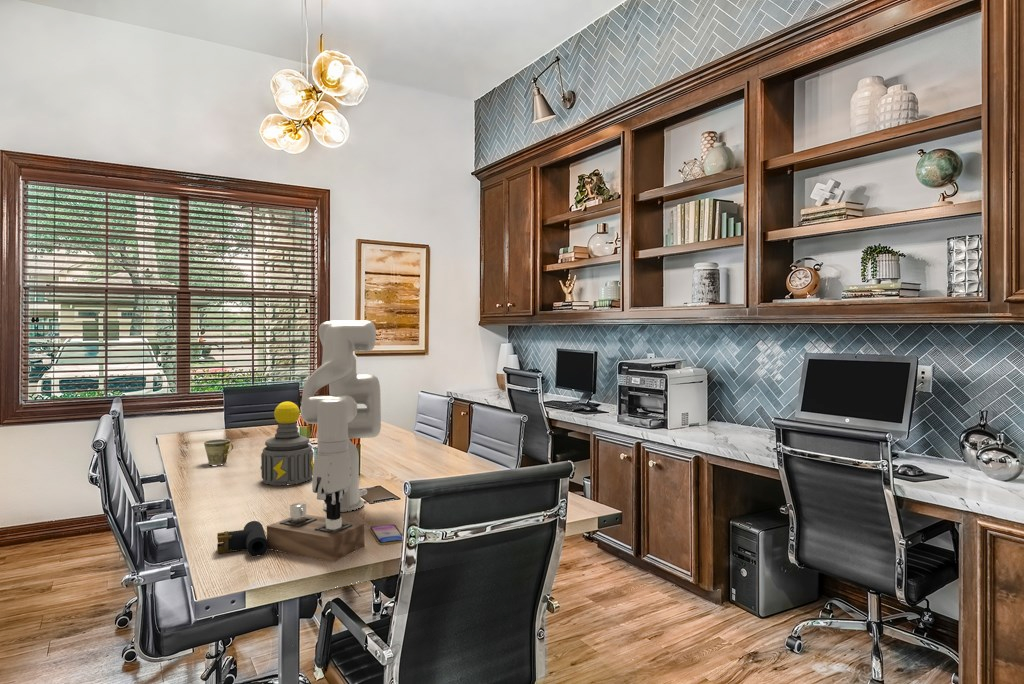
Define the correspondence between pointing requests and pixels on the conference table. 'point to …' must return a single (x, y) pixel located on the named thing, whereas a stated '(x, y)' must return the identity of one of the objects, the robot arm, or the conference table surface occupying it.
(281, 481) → the grey lightning bolt generator
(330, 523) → the peg
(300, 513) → the peg
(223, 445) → the ceramic cup
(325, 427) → the robot arm
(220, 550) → the pipe connector
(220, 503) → the conference table surface
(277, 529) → the plunger block
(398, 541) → the smartphone
